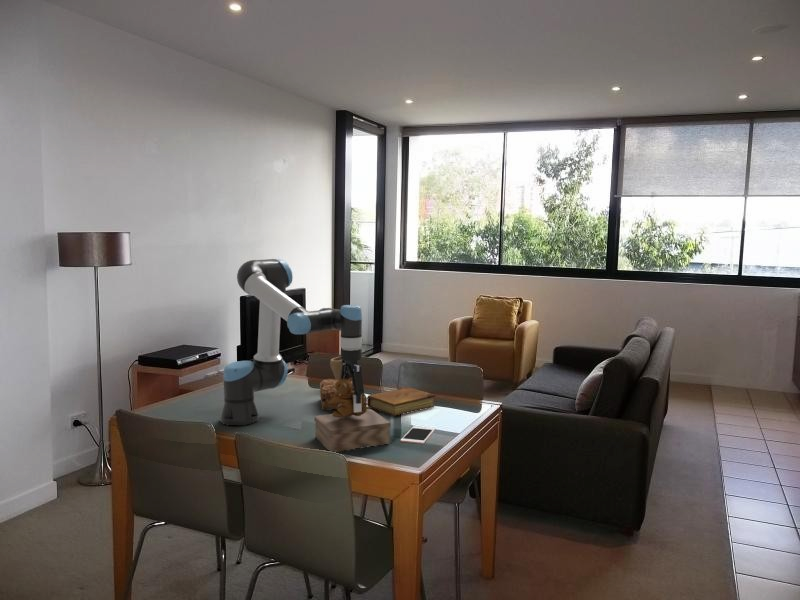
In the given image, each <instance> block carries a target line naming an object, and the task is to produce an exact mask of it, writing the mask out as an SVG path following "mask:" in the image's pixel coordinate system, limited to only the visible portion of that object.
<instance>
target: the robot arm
mask: <svg viewBox="0 0 800 600" xmlns="http://www.w3.org/2000/svg"><path fill="white" fill-rule="evenodd" d="M236 280H237V284H238V285H239V287H240V289H241V290H242V291H243V292H244V293H246V294H247V295H248V296H254V298H256V299H257V300H258V301H259V310H258V311H259V312H258V313H259V314H258V333H257V334H258V336H257V352H256V353H255V354H254V355H253V361H251V360H239V361H233V362H231V363H229V364H227V365H226V366H225V367H224V368H223V376H222V379H223V397H224V398H223V399H224V400H223V405H222V410H221V411H220V412H221V413H220V417H219V418H220V419H219V421H221V422H222V423H224V424H228V425H243V426H248V425H247V424H249V425H252V424H251V423H253V424H255V423H257V422H259V420H260V413H259V410H258V407H257V405H256V402H255V393H257V392H261V391H266V390H271V389H275V388H277V387H280V386H282V385H283V384H284V383H285V382H286V380H287V378H288V367H287V363H286V362H285V360H284V359H283V356H282V355H281V354H280V352H279V351H280V335H281V318H282V319H283V320H284V321H286V325H287V328H288V329H289V332H290V333H291V334H293V335H306V334H311V333H312V334H313V333H316V332H317V333H318V332H323V331H329V330H333V331H335V330H336V331H340V348H341V349H340V356H341V359H342V369H341V376H340V380H341V379H349V378H351V379H352V383H353V388H354V389H353V391H354V393H353V395H354V413H355V412H362V398H361V394H363V393H364V394H365V390H364V389H365V388H364V382H363V373H362V365H361V364H360V365H359V364H358V362H359V361H360V360H362V359H363V351H362V350H363V349H362V345H363V342H362V341H364V340H363V336H362V333H363V330H362V329H363V328H362V327H363V325H362V321H363V316H362V315H363V314H362V308H361V306H360V305H356V304H354V305H353V304H343V305H341V306H340V309H336V308H331V307H322V308H320V309H319V310H311V311H309V310H307V309H306V308H304V307H303V306H301V305H300V304H299V303H298V302H297V301H295V300H294V299H292V298H291V297H289V296H288V295H287V294H286V292H287V290H286V289H287V288H288V287H290V286H291V284H292V283H293V271H292V269H291V267H290V265H289V263H288V262H287V261H286V260H284V259H279V258H278V259H277V258H269V259H253V260H247V261H246V262H244V263H242V264H241V266H240V267H239V268H238V270H237V275H236ZM256 421H257V422H256ZM221 422H220V423H221ZM254 422H255V423H254ZM222 423H221V424H222ZM224 424H223V425H224ZM228 425H227V426H228Z"/></svg>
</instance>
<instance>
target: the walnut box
mask: <svg viewBox="0 0 800 600" xmlns="http://www.w3.org/2000/svg"><path fill="white" fill-rule="evenodd" d="M332 414H333V413H330V414H321V415H314V417H313V419H314V422H315V424H314V425H315V438H316V439H317V440H318V441H319V442H320V443H321V445H322V446H323V447H324V448H325V449H326V450H327V451H328V450H330V451H334V452H333V453H339V452H345V451H344V450H347V451H350V450H349V449H353V450H356V449H355V448H360V449H362V448H361V447H367V446H374V447H376V446H375V445H381V446H385V445H384V444H388V445H390V428H391V422H390V421H388V420H387V418H385V417H383V416H382V415H380V414H379V413H377V412H376V411H375V410H373V408H369V409H367V411H366V412H365V413H364V414H362V415H361V416H354V415H352V416H349V417H333V416H332ZM367 448H368V447H367Z"/></svg>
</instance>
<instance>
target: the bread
mask: <svg viewBox="0 0 800 600" xmlns="http://www.w3.org/2000/svg"><path fill="white" fill-rule="evenodd" d="M336 382H338V380H335V378H327V379H323V380H322V381H321V382H320V383H319V394H320V396H319V397H320V402H321V403H320V404H321V409H322V410H324V411H325V410H327V411H331V410H335V411H338V410H337V408H338V404H339V403H336V404H332V403H331V399H332V398H334V394H335V393H339V392H338V391H337V390H336V389H335V384H336ZM335 391H336V392H335Z"/></svg>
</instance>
